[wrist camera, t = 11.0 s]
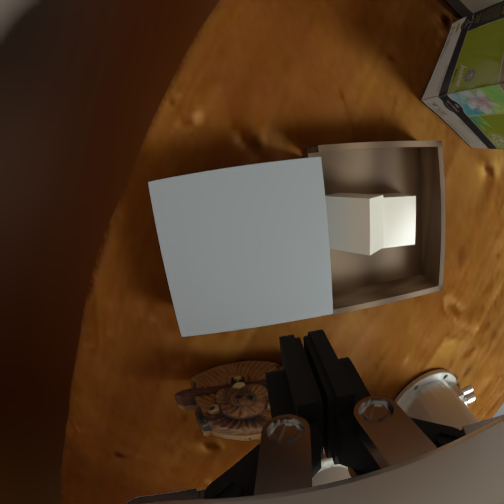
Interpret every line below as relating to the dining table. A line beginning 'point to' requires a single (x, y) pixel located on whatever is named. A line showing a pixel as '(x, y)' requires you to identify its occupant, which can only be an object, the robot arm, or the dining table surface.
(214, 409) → the wooden carving
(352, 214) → the cream upright block
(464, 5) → the planter
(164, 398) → the dining table surface
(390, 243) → the cream square-faced block
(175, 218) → the grey square block
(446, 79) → the tea box
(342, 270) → the box
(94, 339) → the dining table surface
